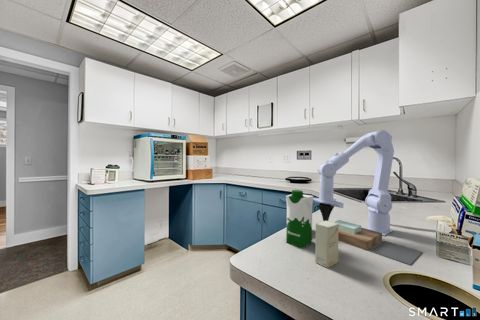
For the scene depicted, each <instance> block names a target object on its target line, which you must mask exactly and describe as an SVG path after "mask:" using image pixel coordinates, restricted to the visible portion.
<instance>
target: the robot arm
mask: <svg viewBox="0 0 480 320" xmlns="http://www.w3.org/2000/svg"><path fill="white" fill-rule="evenodd" d="M392 138H393V136H392V135H391V134H390V133H389V132H388V131H387V130H385V129H380V130H375V131H372V132H367V133H365V134H364V135H361V136H360V138H358V139H357V140H356V141H355V142H353V144H352V145H350V146H348V148H347V149H346V150H345V151H343V152H341V151H339V152H335V153H334V154H333V156H332V157H331V158H330V159H327V160H325V163H322V164H321V165H319V166H318V169H317V172H318V175H319V195H318V197H315V196H313V203H317V204H318V205H317V207H318V209H319V211H320V213H321V217H322V222H323V221H329V219H330V216H331V214H332V212H333V210H334V208H339V209H344V202H340V201H337V200H334V176H335V175H336V174H337V171H338V170H340V169H341V168H343V167H344V166H345V165H347V164H348V163H349V162H350V158H351V157H352V156H354V155H355V154H356V153H358V152H360V151H361V150H362V149H363V148H366V147H369V148H370V149H372V150H374V151H375V152H376V153H377V160H376V165H375V171H374V176H373V177H374V178H373V183H372V184H373V185H372V188H370V190H369V191H368V194H367V196H366V197H365V201H364V202H365V204H366V206H367V211H368V213H367V215H368V216H367V227H366V228H365V227H364V228H365V229H369V230H373V231H376V232H380V233H382V236H387V235H388V234H390V233H392V232H393V229H391V216H390V214H389V212H391V210H392V208H393V203H392V195H391V194H390V192H389V190H388V189H389V183H390V178H391V173H392V171H391V170H392V166H393V159H394V155H395V149H394V145H393V143H392V142H393V141H392Z"/></svg>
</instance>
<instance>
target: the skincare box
mask: <svg viewBox="0 0 480 320" xmlns="http://www.w3.org/2000/svg"><path fill="white" fill-rule="evenodd" d="M334 222H335V221H329V220H328V221H323V220H322V221H319V222H317V223H315V253H314V254H315V259H314V262H315V263H316V264H319V265H321V266H322V267H325V268H331V267H332V266H334V265H336V264H338V263H339V241H338V228H339V224H338V223H334Z"/></svg>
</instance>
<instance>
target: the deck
mask: <svg viewBox="0 0 480 320" xmlns="http://www.w3.org/2000/svg"><path fill="white" fill-rule="evenodd" d="M338 242H342V243H344V244H346V245H351V246H353V247H356V248H359V249H362V250H366V251H369V249H370V250H371V249H372V248H374V247H375V246H377V244H378V245H379V244H380V242H381V243H382V242H383V235H382V233H380V232H376V231H373V230H369V229H365V227H361V231H359V232H357V233H355V234H353V233H349V232H346V231H343V230H339V229H338Z"/></svg>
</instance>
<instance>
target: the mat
mask: <svg viewBox="0 0 480 320" xmlns="http://www.w3.org/2000/svg"><path fill="white" fill-rule="evenodd" d="M369 252H370V253H373V254H376V255H379V256H382V257H384V258H388V259H390V260H394V261H396V262H399V263H403V264H406V265H408V266H411V265H412V264H413V263H414V262H415V261H416V260H417V259H418V258H419V257H420V255H421V254H423V250H417V249H414V248H412V247H407V246H404V245H400V244H397V243H393V242H390V241H387V240H384V241H381V243H378V245H375V246H374V247H372V248H371V249H370V250H369Z"/></svg>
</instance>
